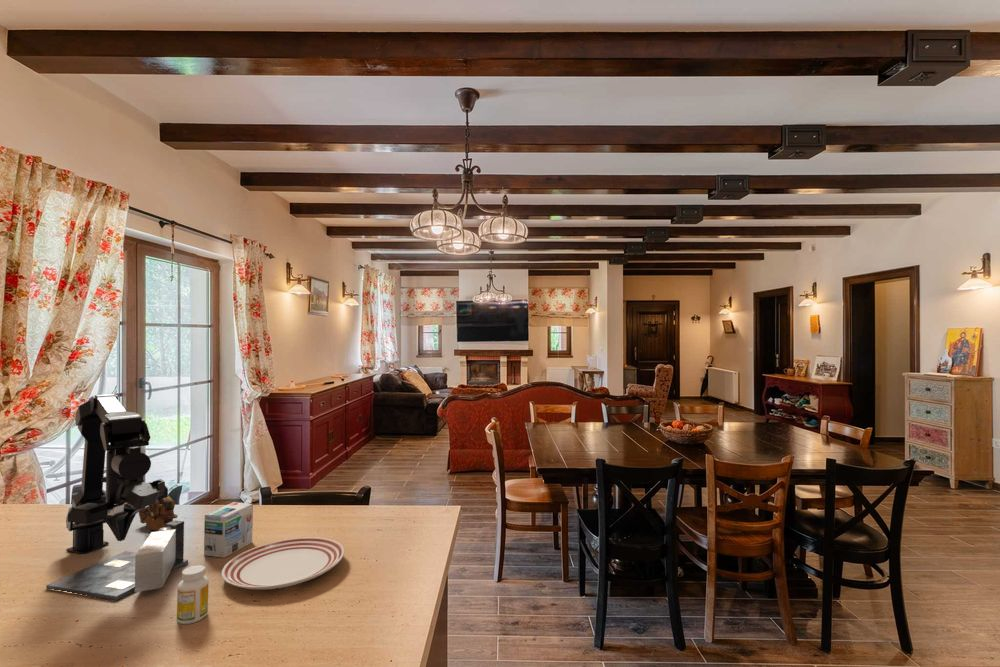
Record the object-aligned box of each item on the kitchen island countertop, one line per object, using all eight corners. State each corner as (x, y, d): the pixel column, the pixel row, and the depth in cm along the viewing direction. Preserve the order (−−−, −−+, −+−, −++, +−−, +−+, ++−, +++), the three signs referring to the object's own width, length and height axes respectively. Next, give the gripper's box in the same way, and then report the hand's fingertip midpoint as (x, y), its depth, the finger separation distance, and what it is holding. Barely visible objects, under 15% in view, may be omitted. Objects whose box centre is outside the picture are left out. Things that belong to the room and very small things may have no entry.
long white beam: (134, 592, 105) (135, 555, 105) (153, 560, 119) (154, 528, 120) (162, 587, 107) (162, 551, 107) (177, 557, 122) (178, 525, 122)
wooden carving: (131, 527, 144) (131, 494, 145) (147, 522, 149) (148, 490, 149) (167, 536, 138) (167, 501, 138) (183, 530, 142) (183, 496, 142)
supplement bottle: (181, 628, 94) (182, 578, 94) (172, 618, 98) (173, 570, 98) (212, 616, 98) (212, 569, 98) (202, 606, 102) (203, 561, 102)
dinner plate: (192, 587, 110) (193, 573, 110) (284, 541, 136) (284, 529, 136) (287, 611, 101) (287, 595, 101) (366, 556, 126) (366, 543, 126)
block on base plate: (46, 589, 108) (47, 544, 109) (128, 553, 127) (129, 515, 127) (116, 601, 104) (117, 554, 104) (191, 561, 122) (192, 522, 122)
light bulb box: (224, 558, 124) (225, 516, 125) (202, 556, 126) (203, 514, 126) (253, 541, 135) (254, 503, 135) (232, 539, 136) (233, 501, 136)
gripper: (108, 485, 98) (106, 562, 98) (187, 463, 116) (186, 528, 116) (66, 481, 101) (64, 556, 100) (150, 460, 119) (148, 524, 119)
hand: (121, 540), depth 109 cm, fingers closed
